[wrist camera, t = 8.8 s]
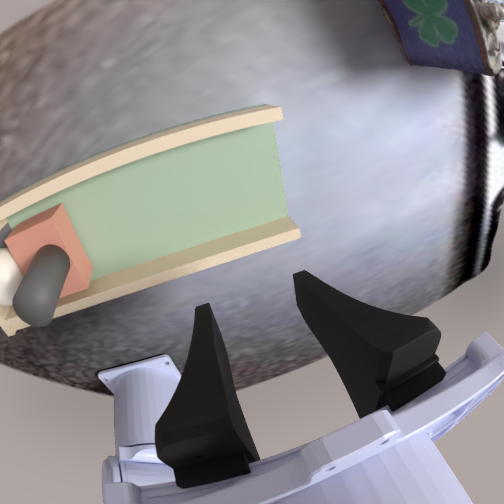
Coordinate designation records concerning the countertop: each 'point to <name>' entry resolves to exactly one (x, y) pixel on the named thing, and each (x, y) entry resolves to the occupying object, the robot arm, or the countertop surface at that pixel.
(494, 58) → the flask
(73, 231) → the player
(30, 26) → the countertop surface
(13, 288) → the ball
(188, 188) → the pitch
